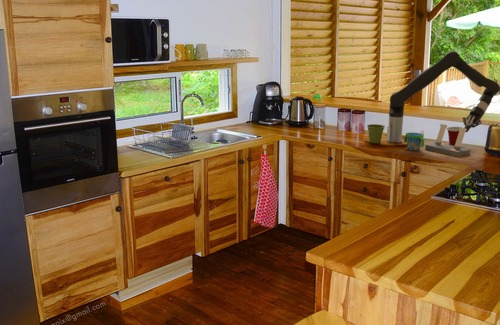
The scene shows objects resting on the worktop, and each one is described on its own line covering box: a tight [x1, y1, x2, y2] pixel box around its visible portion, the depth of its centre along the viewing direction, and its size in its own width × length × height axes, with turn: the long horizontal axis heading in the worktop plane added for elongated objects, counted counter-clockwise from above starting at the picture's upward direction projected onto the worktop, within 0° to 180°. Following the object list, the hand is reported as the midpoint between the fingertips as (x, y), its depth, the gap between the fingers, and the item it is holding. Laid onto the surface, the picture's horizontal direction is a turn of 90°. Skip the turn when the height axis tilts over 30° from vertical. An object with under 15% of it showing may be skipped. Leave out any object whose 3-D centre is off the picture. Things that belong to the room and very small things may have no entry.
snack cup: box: [403, 132, 425, 152], centre depth 349 cm, size 16×10×10 cm
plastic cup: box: [446, 126, 464, 146], centre depth 358 cm, size 11×11×12 cm
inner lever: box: [434, 123, 448, 145], centre depth 349 cm, size 2×4×13 cm, turn 35°
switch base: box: [424, 142, 471, 158], centre depth 344 cm, size 12×24×3 cm, turn 34°
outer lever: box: [454, 127, 467, 149], centre depth 338 cm, size 2×4×13 cm, turn 35°
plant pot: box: [366, 123, 386, 144], centre depth 370 cm, size 12×12×11 cm
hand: (465, 131), depth 339 cm, fingers closed
